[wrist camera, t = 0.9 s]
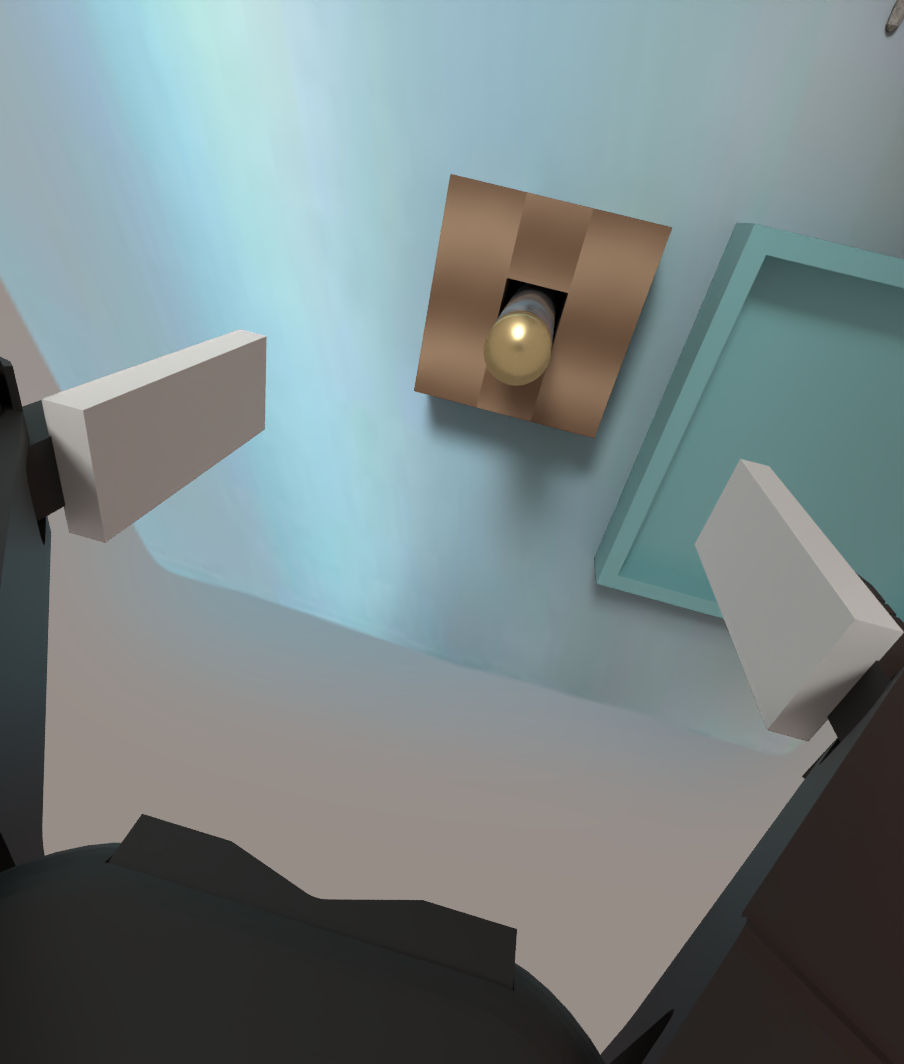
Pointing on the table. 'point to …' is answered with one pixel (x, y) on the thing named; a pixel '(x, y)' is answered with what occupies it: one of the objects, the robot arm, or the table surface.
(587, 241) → the pin block
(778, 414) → the tray
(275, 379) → the table surface
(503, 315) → the pin
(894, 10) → the pliers
